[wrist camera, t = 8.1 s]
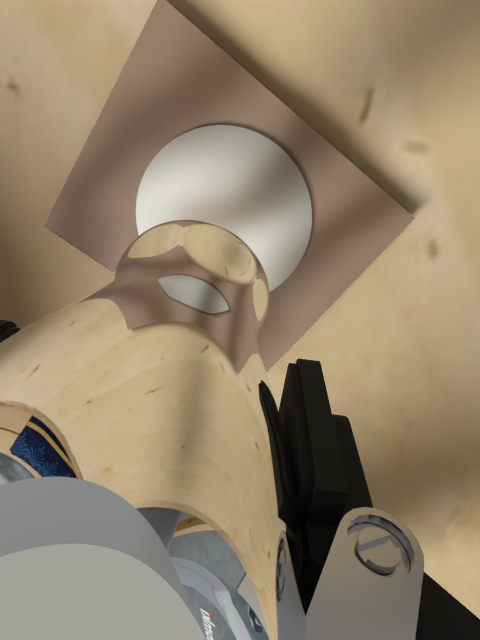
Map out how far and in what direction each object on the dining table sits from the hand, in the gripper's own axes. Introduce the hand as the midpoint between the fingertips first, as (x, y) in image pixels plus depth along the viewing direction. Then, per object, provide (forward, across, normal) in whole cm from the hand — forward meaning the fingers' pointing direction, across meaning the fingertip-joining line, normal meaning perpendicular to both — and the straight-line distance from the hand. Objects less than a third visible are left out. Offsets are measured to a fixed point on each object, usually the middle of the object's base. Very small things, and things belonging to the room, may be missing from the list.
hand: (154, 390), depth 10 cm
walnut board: (+20, 0, 0) cm, 20 cm away
